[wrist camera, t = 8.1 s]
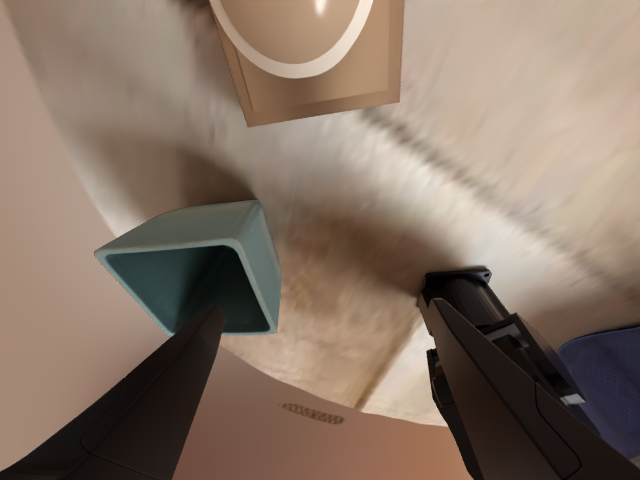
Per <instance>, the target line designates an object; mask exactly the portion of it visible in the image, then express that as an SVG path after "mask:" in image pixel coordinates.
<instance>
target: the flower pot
mask: <svg viewBox="0 0 640 480" xmlns="http://www.w3.org/2000/svg"><path fill="white" fill-rule="evenodd" d="M94 256H95V257H96V258H97V259H98V261H99V262H100V263H101V265H103V266H104V268H105V269H106V270H107V271H108V272H109V273H110V274H111V275H112V276H113V277H114V278H115V279H116V280H117V281H118V282H119V283H120V284H121V285H122V287H124V289H125V290H126V291H127V292H128V293H129V294H130V295H131V296H132V297H133V298H134V299H135V301H136V302H137V303H138V304H139V305H140V306H141V307H142V308H143V309H144V310H145V311H146V313H147V314H148V315H149V316H150V317H151V318H152V319H153V320H154V321H155V322H156V323H157V324H158V326H159V327H160V328H161V329H162V330H163V331H164V332H166V333H167V334H168V335H169V336H173V335H174V334H175V333H176V332H178V331H179V330H180V329H181V328H182V327H183V326H185V325H186V324H187V323H188V322H189V321H190V320H191V319H193V318H194V317H195V316H196V315H197V314H198V313H200V312H201V311H202V310H203V309H204V308H205V307H207V306H208V305H218V306H219V307H220V309H221V311H222V312H223V314H224V316H225V322H224V327H223V331H222V335H221V336H226V335H268V334H274V333H277V326H278V316H279V306H280V296H281V269H280V263H279V259H278V255H277V252H276V249H275V246H274V243H273V240H272V237H271V233H270V230H269V227H268V224H267V221H266V217H265V214H264V211H263V207H262V205H261V203H260V202H259V201H258V200H246V201H238V202H229V203H219V204H210V205H199V206H191V207H185V208H180V209H176V210H172V211H169V212H166V213H163V214H161V215H159V216H157V217H155V218H153V219H151V220H149V221H147V222H145V223H143V224H141V225H140V226H138V227H136V228H134V229H132V230H130V231H129V232H127V233H125V234H123V235H122V236H120V237H118V238H116V239H115V240H113V241H111V242H109V243H107V244H106V245H104V246H102V247H101V248H99V249H97V250H95V251H94Z"/></svg>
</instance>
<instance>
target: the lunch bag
mask: <svg viewBox="0 0 640 480" xmlns="http://www.w3.org/2000/svg"><path fill="white" fill-rule="evenodd" d="M558 356H559V357H560V359H561V360H562V362H563V363H564V365H565V366H566V368H567V370H568V371H569V373H570V374H571V376H572V378H573V379H574V381H575V382H576V384H577V386H578V387H579V389H580V391H581V392H582V394H583V395H584V397H585V399H586V400H587V403H583V404H579V406H580V407H581V408H582V409H583V411H584V412H585V413H586V415H587V416H588V417H589V419H590V420H591V421H592V423H593V424H594V425H595V426H596V428H597V429H598V431H599V432H600V435H601V438H602V439H603V440H605V441H606V442H607V443H608V444H610V445H611V446H612V447H613V448H615V449H616V450H617V451H618V452H620V453H621V454H622V455H623V456H625V457H626V458H627V459H629V460H630V461H631V462H632V463H634V464H635V465H636V466H637V467H639V468H640V327H636V328H631V329H625V330H618V331H612V332H606V333H600V334H595V335H589V336H584V337H581V338H577V339H574V340H572V341H569V342H567V343H566V344H564V345H563V346H562V347H561V348H560V349H559V351H558Z"/></svg>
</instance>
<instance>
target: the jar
mask: <svg viewBox="0 0 640 480" xmlns="http://www.w3.org/2000/svg"><path fill="white" fill-rule="evenodd" d="M210 3H211V5H212V8H213V10H214V12H215V14H216V16H217V19H218V20H219V22H220V24H221V26H222V27H223V29H224V31H225V33H226V34H227V35H228V37H229V38H230V40H231V41H232V43H233V44H234V45H235V46H236V47H237V48H238V50H239V51H240V52H241V53H242V54H243V55H244V56H245V57H246V58H247V59H249V60H250V61H251V62H252V63H254V64H255V65H256V66H258V67H259V68H261V69H263V70H265V71H267V72H268V73H271V74H274V75H276V76H280V77H285V78H305V77H312V76H317V75H321V74H323V73H325V72H327V71H329V70H331V69H332V68H334V67H335V66H336V65H337V64H338V63H339V62H340V61H341V60H342V59H343V58H344V56H345V55H346V54H347V52H348V51H349V49H350V48H351V46H352V45H353V43H354V42H355V40H356V39H357V37H358V36H359V34H360V32H361V30H362V28H363V26H364V24H365V22H366V20H367V17H368V15H369V12H370V9H371V6H372V3H373V0H210Z"/></svg>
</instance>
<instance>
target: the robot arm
mask: <svg viewBox="0 0 640 480" xmlns="http://www.w3.org/2000/svg"><path fill="white" fill-rule="evenodd" d="M491 275H492V273H491V272H490V270H488V269H480V270H466V271H453V272H439V273H429V274H426V275H425V279H424V284H423V289H422V290H421V291H420V297H419V303H418V306H419V309H420V312H421V314H422V316H423V319H424V322H425V324H426V327H427V330H428V332H429V335H431V336H432V337H434V341H435V345H436V348H435V349H430V350H427V351H426V352H427V360H428V368H429V375H430V383H431V390H432V397H433V400H434V402H435V403H436V406H437V408H438V410H439V412H440V413H441V415H442V417H443V418H444V420H445V421H446V423H447V424H448V426H449V428H450V430H451V432H452V434H453V436H454V438H455V441H456V443H457V446H458V447H459V451H460V453H461V456H462V458H463V461H464V464H465V466H466V469H467V471H468V472H469V474H470V475H471V476H472V478H473V479H474V480H640V468H639V467H637V466H636V465H635V464H634V463H632V462H631V461H630V460H629V459H627V458H626V457H625V456H623V455H622V454H621V453H620V452H618V451H617V450H616V449H615V448H613V447H612V446H611V445H610V444H608V443H607V442H606V441H605V440H603V439H602V438H601V435H600V432H599V431H598V429H597V428H596V426H595V425H594V424H593V423H592V421H591V420H590V419H589V417H588V416H587V415H586V413H585V412H584V411H583V409H582V408H581V407H580V406H579V404H583V403H587V400H586V399H585V397H584V395H583V394H582V392H581V391H580V389H579V387H578V386H577V384H576V382H575V381H574V379H573V378H572V376H571V374H570V373H569V371H568V370H567V368H566V366H565V365H564V363H563V362H562V360H561V359H560V357H559V356H558V355H557V354H556V353H555V351H554V350H553V349H552V348H551V347H550V345H549V344H548V343H547V342H546V341H545V340H544V338H543V337H542V336H541V335H540V334H539V333H538V332H537V331H536V330H535V329H534V328H533V327H532V326H530V325H529V324H528V323H527V322H526V321H525V320H524V319H523V318H522V317H520V316H519V315H518V314H517V313H514V314H511V315H510V314H509V312H508V311H507V310H506V308H505V307H504V306H503V304H502V303H501V302H500V300H499V299H498V298H497V296H496V295H495V293H494V292H493V291H492V289H491V288H490V287H489V285H488V283H489V280H490V278H491ZM224 322H225V316H224V314H223V312H222V311H221V309H220V307H219V306H218V305H208V306H207V307H205V308H204V309H203V310H202V311H201V312H200V313H198V314H197V315H196V316H195V317H194V318H193V319H191V320H190V321H189V322H188V323H187V324H186V325H185V326H183V327H182V328H181V329H180V330H179V331H178V332H176V333H175V334H174V335H173V336H172V337H171V338H169V339H168V340H167V341H166V342H165V343H164V344H163V345H161V346H160V347H159V348H158V349H157V350H156V351H154V352H153V353H152V354H151V355H150V356H149V357H147V358H146V359H145V360H144V361H143V362H142V363H141V364H139V365H138V366H137V367H136V368H135V369H134V370H132V372H130V373H129V374H128V375H127V376H126V377H125V378H123V379H122V380H121V381H120V382H118V383H117V384H116V385H115V386H114V387H113V388H111V390H109V391H108V392H107V393H106V394H104V395H103V396H102V397H101V398H100V399H98V400H97V401H96V402H95V403H93V404H92V405H91V406H90V407H88V408H87V409H86V410H85V411H83V412H82V413H81V414H80V415H78V416H77V417H76V418H74V419H73V420H72V421H71V422H69V423H68V424H67V425H66V426H64V427H63V428H62V429H61V430H59V431H58V432H57V433H55V434H54V435H53V436H51V437H50V438H49V439H48V440H46V441H45V442H44V443H42V444H41V445H40V446H39V447H37V448H36V449H35V450H33V451H32V452H31V453H29V454H28V455H27V456H25V457H24V458H22V459H21V460H19V461H18V462H16V463H15V464H13V465H11V466H10V467H8V468H6V469H4V470H2V471H1V472H0V480H172V478H173V475H174V472H175V469H176V466H177V464H178V461H179V458H180V455H181V452H182V450H183V447H184V444H185V441H186V438H187V436H188V433H189V430H190V427H191V424H192V422H193V419H194V416H195V413H196V410H197V407H198V405H199V402H200V399H201V396H202V394H203V391H204V388H205V385H206V383H207V380H208V377H209V374H210V371H211V369H212V366H213V363H214V360H215V357H216V354H217V350H218V346H219V343H220V339H221V335H222V331H223V327H224Z"/></svg>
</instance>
